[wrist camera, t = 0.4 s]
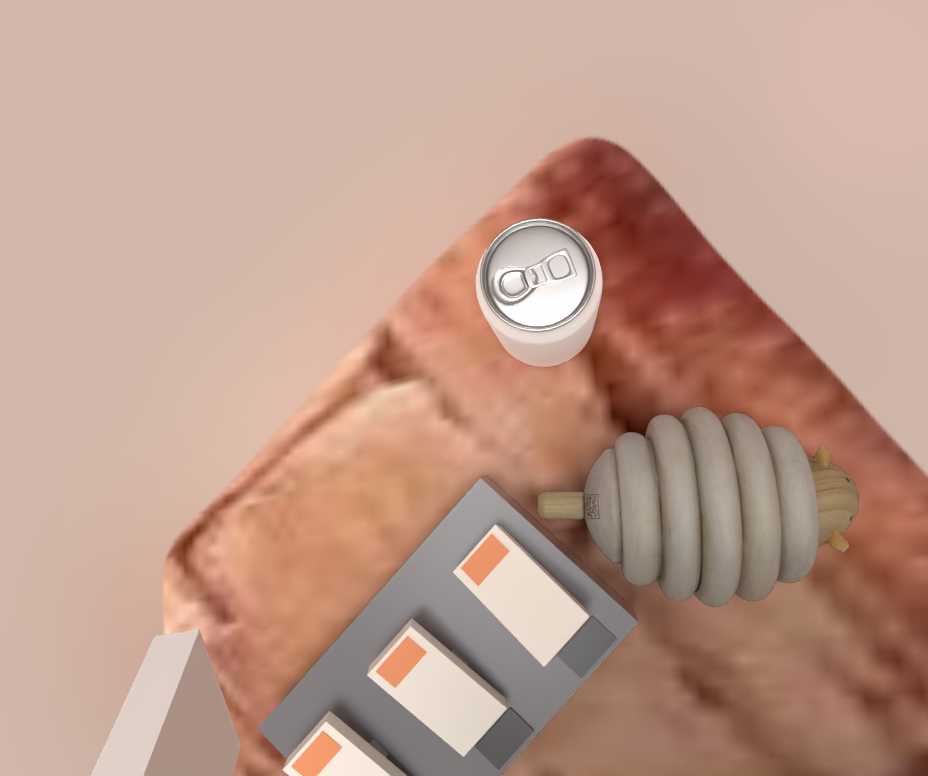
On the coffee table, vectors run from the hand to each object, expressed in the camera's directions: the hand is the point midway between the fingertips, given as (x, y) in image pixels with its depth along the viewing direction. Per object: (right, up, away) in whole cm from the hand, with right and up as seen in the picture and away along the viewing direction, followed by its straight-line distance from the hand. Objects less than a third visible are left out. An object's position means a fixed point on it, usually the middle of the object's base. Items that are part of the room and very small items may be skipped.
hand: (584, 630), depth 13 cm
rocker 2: (+1, -7, +27) cm, 28 cm away
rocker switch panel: (-3, -13, +33) cm, 36 cm away
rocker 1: (-4, -12, +28) cm, 30 cm away
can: (+3, +9, +35) cm, 36 cm away
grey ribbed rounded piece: (+11, -2, +32) cm, 35 cm away
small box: (-8, -18, +28) cm, 34 cm away
